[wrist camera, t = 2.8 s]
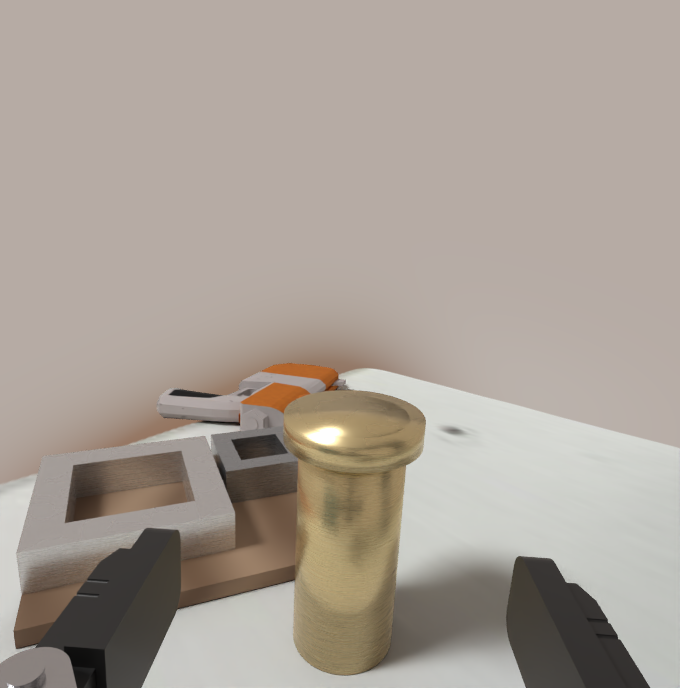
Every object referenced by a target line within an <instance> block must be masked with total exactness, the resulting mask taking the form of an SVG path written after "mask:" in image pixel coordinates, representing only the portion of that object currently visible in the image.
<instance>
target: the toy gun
mask: <svg viewBox="0 0 680 688" xmlns="http://www.w3.org/2000/svg"><path fill="white" fill-rule="evenodd" d="M345 383H346V380H342V379H338V373H337V372H336V371H335V370H334V369H331V368H327V367H320V366H314V365H304V364H292V363H287V364H278V365H273V366H271V367H269V368H267V369H265V370H263V371H261V372H259V373H257V374H255V375H253V376H251V377H249V378H247V379H244V380H243V381H241V383H240V385H239V391H237V392H234V393H231V394H229V395H225V396H223V395H215V394H208V393H200V392H194V391H187V390H181V389H179V388H170V389H168V390H167V391H166V392H164V393H163V394H162V395H161V396H160V397H159V400H158V402H157V411H158V412H159V413H160V414H161V415H162V416H163V417H164V418H176V419H191V420H206V421H222V422H239V423H240V431H246V430H255V429H263V428H271V427H279V426H284V410H285V408H286V407H287V406H288V404H290V403H291V402H292V401H294V400H296V399H298V398H300V397H302V396H305V395H309V394H313V393H318V392H324V391H334V390H335V389H336V388H338V386H343V385H344V384H345Z"/></svg>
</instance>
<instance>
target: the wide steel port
mask: <svg viewBox="0 0 680 688" xmlns="http://www.w3.org/2000/svg"><path fill="white" fill-rule="evenodd" d="M177 482H183V486H184V490H185V494H186V498H187V502H185V503H179V504H173V505H168V506H162V507H156V508H150V509H144V510H139V511H133V512H127V513H121V514H115V515H109V516H104V517H98V518H92V519H86V520H80V521H74V513H75V505H76V498H81V497H87V496H94V495H100V494H107V493H113V492H119V491H126V490H132V489H139V488H145V487H151V486H158V485H164V484H171V483H177ZM73 521H74V522H73ZM146 528H160V529H173V530H179V532H180V539H181V561H184V560H188V559H193V558H198V557H202V556H207V555H212V554H216V553H221V552H226V551H230V550H235V511H234V508H233V506H232V503H231V501H230V498H229V496H228V493H227V491H226V488H225V485H224V483H223V480H222V478H221V475H220V473H219V470H218V468H217V465H216V462H215V460H214V457H213V455H212V452H211V450H210V447H209V445H208V442H207V439H206V437H205V436H200V437H192V438H184V439H176V440H168V441H160V442H152V443H144V444H136V445H128V446H120V447H112V448H104V449H96V450H88V451H81V452H73V453H65V454H56V455H48V456H43V457H42V461H41V464H40V469H39V472H38V475H37V479H36V483H35V486H34V490H33V494H32V497H31V501H30V505H29V508H28V512H27V516H26V520H25V523H24V527H23V531H22V534H21V538H20V542H19V545H18V549H17V553H16V554H17V562H18V570H19V577H20V585H21V593H22V595H25V594H29V593H34V592H39V591H43V590H48V589H53V588H58V587H62V586H67V585H72V584H76V583H81V582H86V581H87V578H88V577H89V576H90V574H91V573H92V572H93V570H94V569H95V568H96V566H97V565H98V564H99V562H100V561H102V560H103V559H105V558H106V557H108V556H109V555H110V554H112V553H113V552H115V551H116V550H118V549H119V548H125V549H131V548H132V546H133V545H134V544H135V542H136V541H137V539H138V538H139V536H140V535H141V533H142V532H143V531H144V529H146Z"/></svg>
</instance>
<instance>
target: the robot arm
mask: <svg viewBox="0 0 680 688" xmlns="http://www.w3.org/2000/svg"><path fill="white" fill-rule="evenodd" d="M180 593H181V539H180V532H179V530H173V529H160V528H146V529H144V531H143V532H142V533H141V535H140V536H139V538H138V539H137V541H136V542H135V544H134V545H133V546H132V548H131V549H125V548H119V549H118V550H116V551H115V552H113V553H112V554H110V555H109V556H108V557H106V558H105V559H103V560H102V561H100V562H99V564H98V565H97V566H96V568H95V569H94V570H93V572H92V573H91V574H90V576H89V577H88V578H87V582H84V584H83V585H82V586H81V588H80V589H79V590H78V592H77V595H76V596H74V597H73V598H72V600H71V601H70V602H69V604H68V605H67V606H66V608H65V609H64V610H63V611H62V613H61V614H60V615H59V617H58V618H57V619H56V621H55V622H54V623H53V625H52V626H51V627H50V629H49V630H48V631H47V633H46V634H45V635H44V637H43V638H42V639H41V641H40V642H39V643H38V645H37V646H36V647H35V648H33V649H29V650H26V651H23V652H20V653H18V654H16V655H14V656H12V657H10V658H8V659H6V660H5V661H3V662H2V663H0V688H141V687H142V685H143V683H144V681H145V679H146V676H147V674H148V672H149V670H150V668H151V666H152V663H153V661H154V659H155V657H156V655H157V653H158V650H159V648H160V646H161V644H162V642H163V640H164V637H165V635H166V633H167V631H168V629H169V627H170V625H171V622H172V620H173V618H174V616H175V613H176V611H177V607H178V604H179V599H180ZM506 622H507V633H508V638H509V641H510V644H511V647H512V650H513V653H514V656H515V658H516V661H517V664H518V667H519V670H520V672H521V675H522V678H523V681H524V683H525V686H526V688H650V687H649V685H648V683H647V682H646V680H645V679H644V677H643V675H642V674H641V672H640V671H639V669H638V667H637V666H636V664H635V663H634V661H633V659H632V658H631V656H630V655H629V653H628V651H627V650H626V648H625V647H624V645H623V643H622V642H621V640H618V635H617V634H616V632H615V631H614V629H613V627H612V626H611V624H610V623H608V619H607V618H606V616H605V614H604V613H603V611H602V610H601V608H600V606H599V605H598V603H597V602H596V600H595V599H593V598H592V597H591V596H590V595H589V594H588V593H587V592H585V591H584V590H583V589H582V588H581V587H580V586H579V585H578V584H575V583H566V582H565V580H564V578H563V576H562V575H561V573H560V571H559V569H558V568H557V566H556V564H555V563H554V561H553V560H552V559H549V558H535V557H522V556H518V557H517V558H516V561H515V564H514V570H513V576H512V582H511V588H510V595H509V601H508V607H507V615H506Z"/></svg>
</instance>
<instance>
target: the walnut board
mask: <svg viewBox="0 0 680 688" xmlns="http://www.w3.org/2000/svg"><path fill="white" fill-rule="evenodd" d="M185 502H187V498H186V494H185V490H184V486H183V482H177V483H171V484H164V485H158V486H151V487H145V488H139V489H132V490H126V491H119V492H113V493H107V494H100V495H94V496H87V497H81V498H76V505H75V513H74V521H80V520H86V519H92V518H98V517H104V516H109V515H115V514H121V513H127V512H133V511H139V510H144V509H150V508H156V507H162V506H168V505H173V504H179V503H185ZM232 506H233V508H234V511H235V550H230V551H226V552H221V553H216V554H212V555H207V556H202V557H198V558H193V559H188V560H184V561H181V593H180V599H179V604H178V607H177V609H178V608H182V607H186V606H190V605H194V604H198V603H202V602H206V601H210V600H214V599H218V598H222V597H226V596H230V595H234V594H238V593H242V592H246V591H250V590H254V589H258V588H263V587H267V586H271V585H275V584H279V583H283V582H287V581H291V580H295V554H296V519H297V492H294V493H289V494H283V495H277V496H272V497H266V498H261V499H255V500H249V501H244V502H238V503H233V504H232ZM74 521H73V522H74ZM86 582H87V581H86ZM83 584H84V582H81V583H76V584H72V585H67V586H62V587H58V588H53V589H48V590H43V591H39V592H34V593H29V594H25V595H22V596H21V601H20V605H19V610H18V614H17V618H16V623H15V627H14V639H15V646H16V649H17V648H21V647H25V646H29V645H33V644H37V643H39V642H40V641H41V639H42V638H43V637H44V635H45V634H46V633H47V631H48V630H49V629H50V627H51V626H52V625H53V623H54V622H55V621H56V619H57V618H58V617H59V615H60V614H61V613H62V611H63V610H64V609H65V608H66V606H67V605H68V604H69V602H70V601H71V600H72V598H73V597H74V596H76V595H77V592H78V590H79V589H80V588H81V586H82V585H83Z"/></svg>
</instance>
